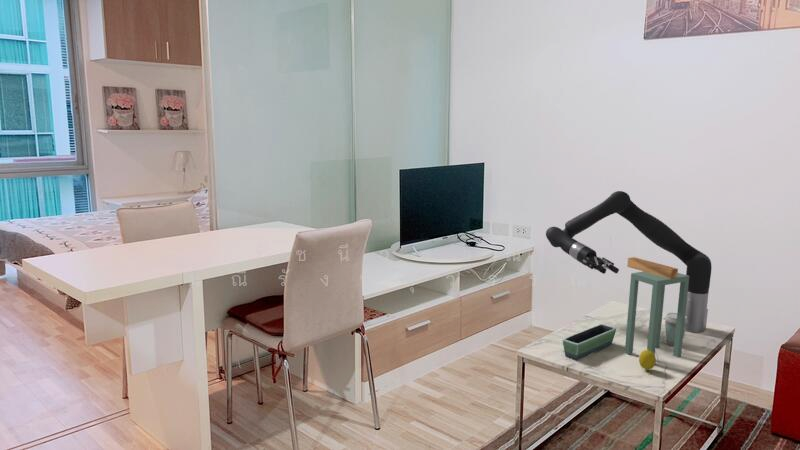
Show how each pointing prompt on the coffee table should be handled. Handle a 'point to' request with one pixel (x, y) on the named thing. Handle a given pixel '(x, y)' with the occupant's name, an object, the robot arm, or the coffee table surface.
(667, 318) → the coffee cup
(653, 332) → the tall green stool
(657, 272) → the block
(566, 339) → the planter
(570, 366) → the coffee table surface
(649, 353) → the lemon
